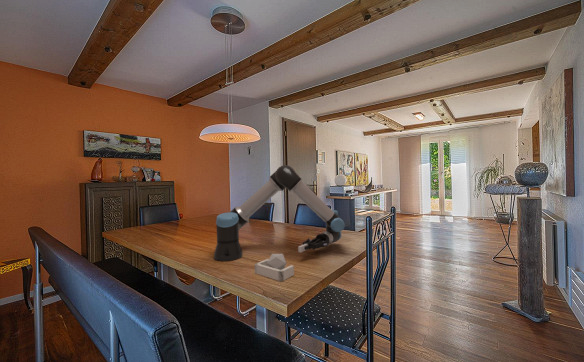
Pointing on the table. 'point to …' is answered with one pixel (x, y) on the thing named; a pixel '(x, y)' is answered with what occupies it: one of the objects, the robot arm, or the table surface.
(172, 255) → the table surface
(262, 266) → the grey u-shaped bracket
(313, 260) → the table surface
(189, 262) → the table surface
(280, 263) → the die
